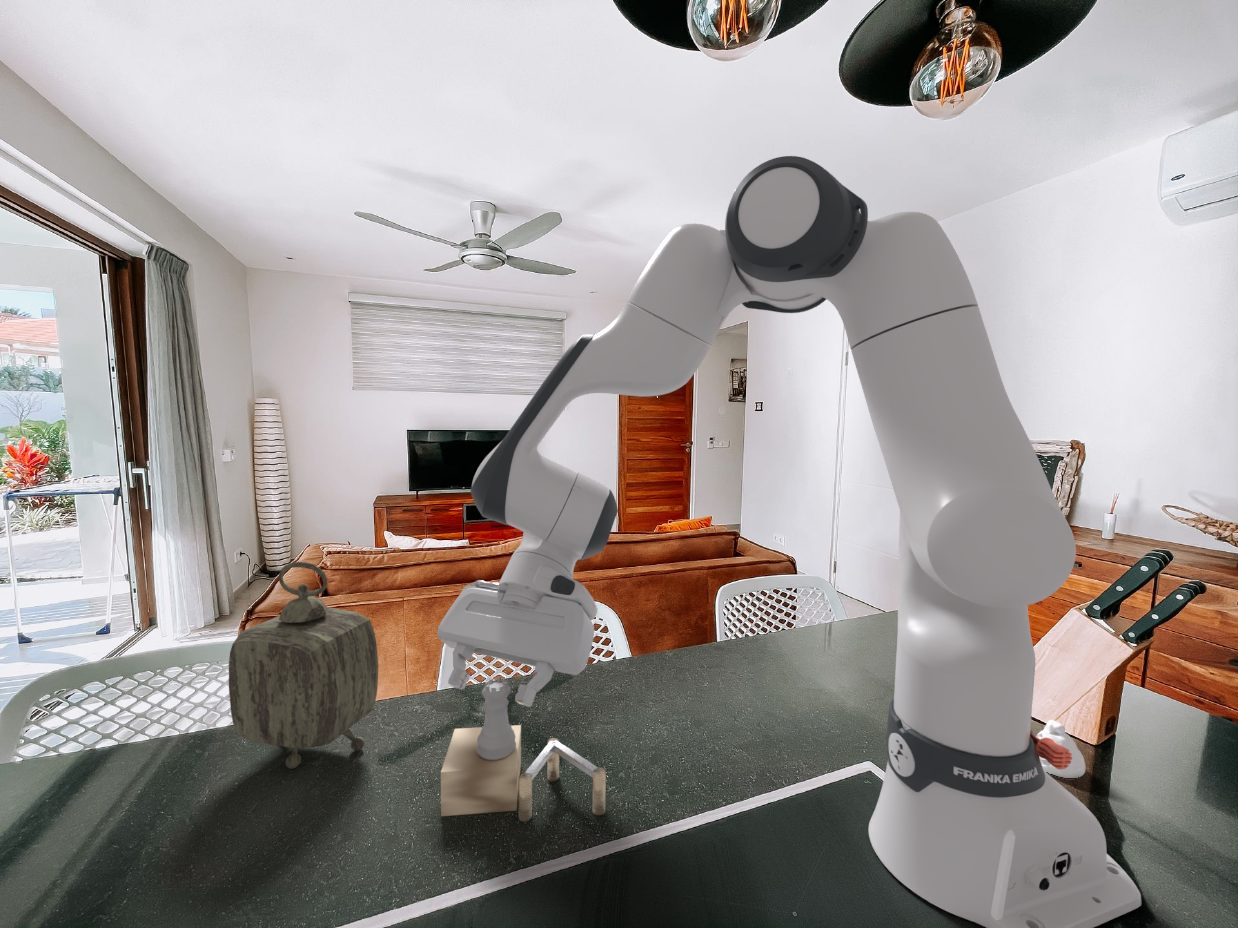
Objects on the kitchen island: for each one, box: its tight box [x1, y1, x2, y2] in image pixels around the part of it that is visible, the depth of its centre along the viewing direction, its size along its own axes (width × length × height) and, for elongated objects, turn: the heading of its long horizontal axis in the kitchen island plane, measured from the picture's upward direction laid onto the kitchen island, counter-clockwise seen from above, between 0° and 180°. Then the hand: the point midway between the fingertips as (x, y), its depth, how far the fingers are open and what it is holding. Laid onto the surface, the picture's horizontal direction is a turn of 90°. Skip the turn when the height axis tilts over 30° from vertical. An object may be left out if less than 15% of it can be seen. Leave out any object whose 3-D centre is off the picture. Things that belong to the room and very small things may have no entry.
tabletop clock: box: [228, 561, 379, 770], centre depth 64 cm, size 14×9×25 cm, turn 77°
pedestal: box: [440, 724, 522, 817], centre depth 60 cm, size 8×8×5 cm
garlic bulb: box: [1035, 719, 1086, 779], centre depth 65 cm, size 6×6×5 cm
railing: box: [518, 737, 607, 822], centre depth 59 cm, size 9×7×4 cm
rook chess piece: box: [476, 677, 516, 761], centre depth 59 cm, size 4×4×8 cm
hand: (487, 694), depth 60 cm, fingers open, 8 cm apart
